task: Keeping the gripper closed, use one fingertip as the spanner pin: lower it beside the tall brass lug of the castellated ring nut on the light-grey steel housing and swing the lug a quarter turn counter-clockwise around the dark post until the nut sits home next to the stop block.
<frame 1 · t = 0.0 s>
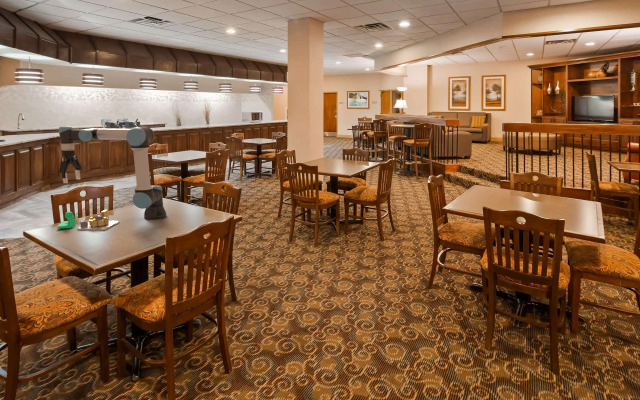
hand: (72, 181, 273), 28 cm above the table, fingers open, 13 cm apart
camera mount: (67, 227, 265), on the table
housing: (99, 226, 267), on the table
ring nut: (100, 217, 268), point 5 cm above the table, hinge at 0.0°
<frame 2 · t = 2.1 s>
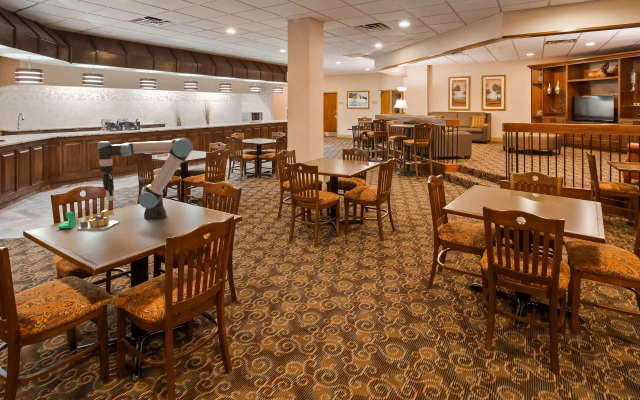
hand: (110, 199, 270), 17 cm above the table, fingers open, 3 cm apart
nothing on the table moved.
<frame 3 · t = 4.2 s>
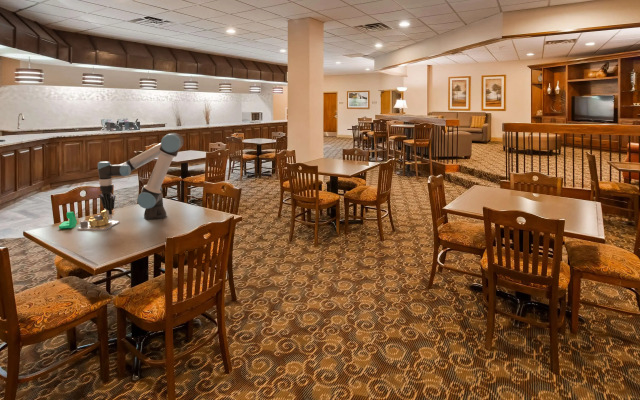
hand: (109, 218, 274), 3 cm above the table, fingers closed
ring nut: (100, 217, 268), point 5 cm above the table, hinge at 1.6°, touching gripper
everything else where it was.
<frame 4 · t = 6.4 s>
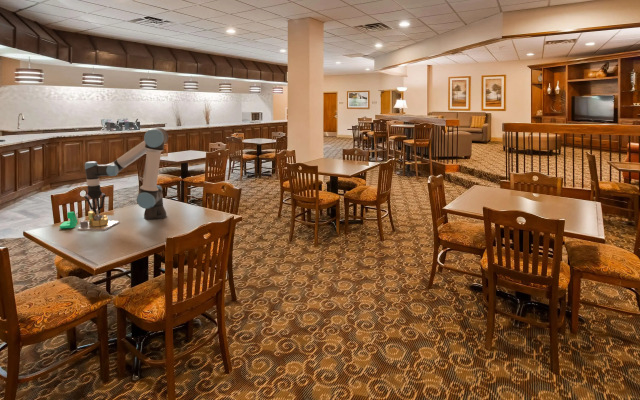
hand: (98, 218, 273), 3 cm above the table, fingers closed
ring nut: (96, 218, 267), point 5 cm above the table, hinge at 58.9°, touching gripper
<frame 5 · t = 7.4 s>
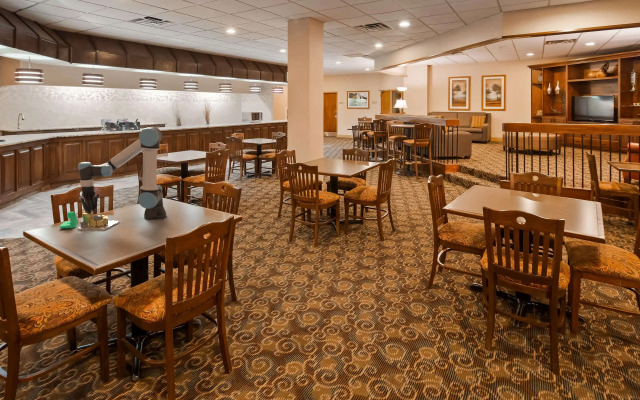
hand: (92, 219, 271), 3 cm above the table, fingers closed
ring nut: (94, 218, 266), point 5 cm above the table, hinge at 83.8°, touching gripper
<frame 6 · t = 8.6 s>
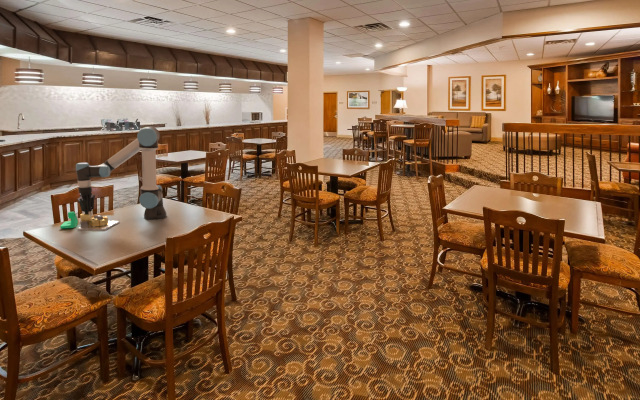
hand: (89, 220, 269), 3 cm above the table, fingers closed
ring nut: (94, 219, 265), point 5 cm above the table, hinge at 102.2°, touching housing
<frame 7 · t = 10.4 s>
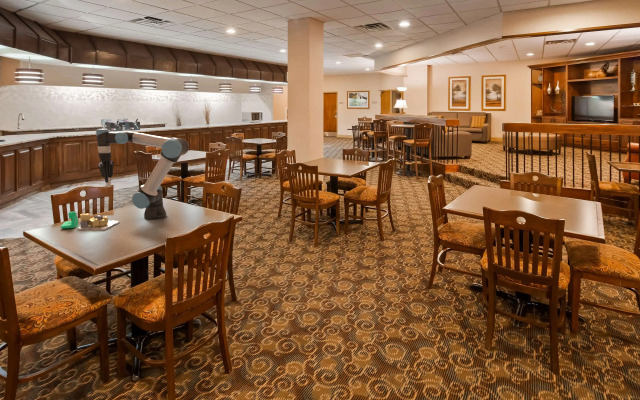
hand: (108, 186, 274), 24 cm above the table, fingers closed
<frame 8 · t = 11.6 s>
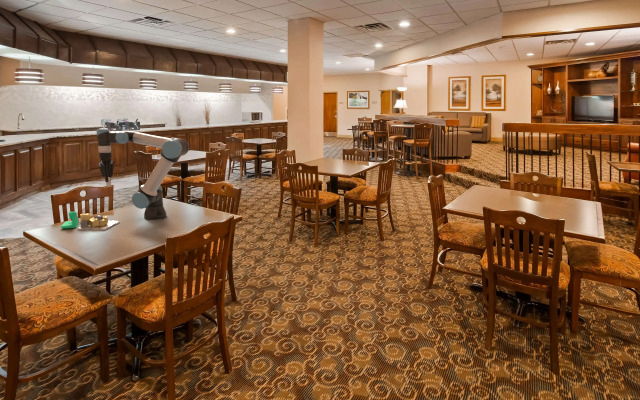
hand: (108, 186, 274), 24 cm above the table, fingers closed
at the end: ring nut at +102° (first picture: +0°); ring nut touching housing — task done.
